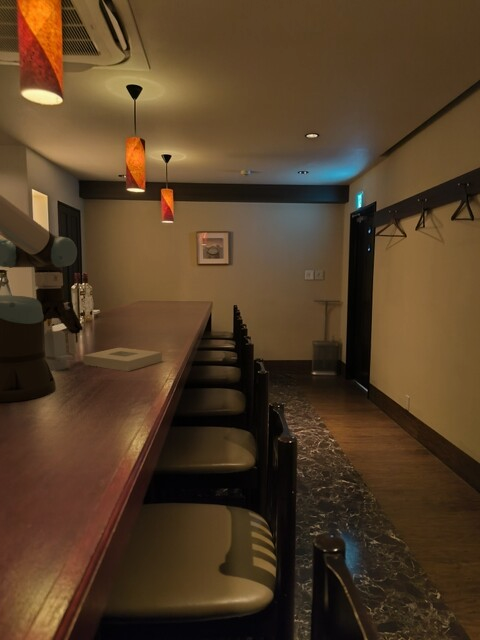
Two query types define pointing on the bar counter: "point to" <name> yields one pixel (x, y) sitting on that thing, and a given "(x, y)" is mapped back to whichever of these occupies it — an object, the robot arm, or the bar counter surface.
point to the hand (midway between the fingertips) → (54, 357)
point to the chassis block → (123, 359)
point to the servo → (56, 350)
